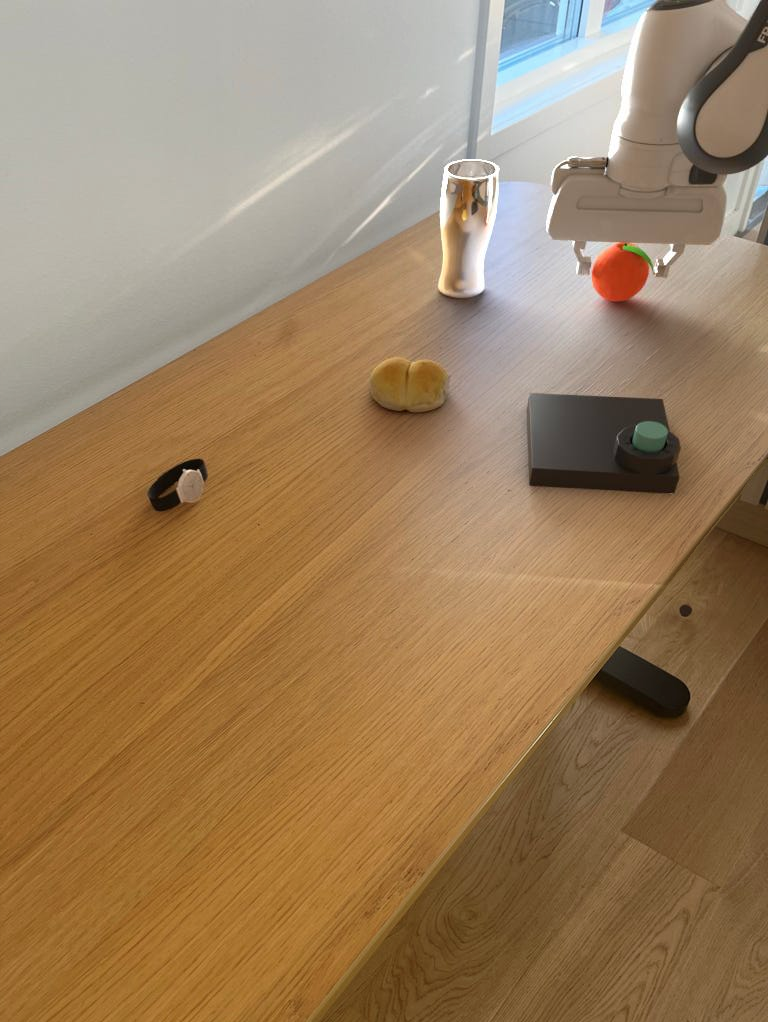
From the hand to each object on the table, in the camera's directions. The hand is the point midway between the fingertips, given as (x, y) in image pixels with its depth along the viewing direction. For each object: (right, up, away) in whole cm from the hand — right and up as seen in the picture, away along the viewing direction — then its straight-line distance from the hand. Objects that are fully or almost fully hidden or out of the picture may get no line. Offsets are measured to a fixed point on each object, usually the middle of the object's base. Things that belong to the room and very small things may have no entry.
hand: (620, 274), depth 119 cm
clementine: (0, -2, +2) cm, 4 cm away
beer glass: (-19, +1, +7) cm, 20 cm away
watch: (-53, -31, -23) cm, 66 cm away
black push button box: (-10, -26, -20) cm, 35 cm away
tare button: (-7, -27, -26) cm, 38 cm away
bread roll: (-28, -18, -11) cm, 35 cm away
